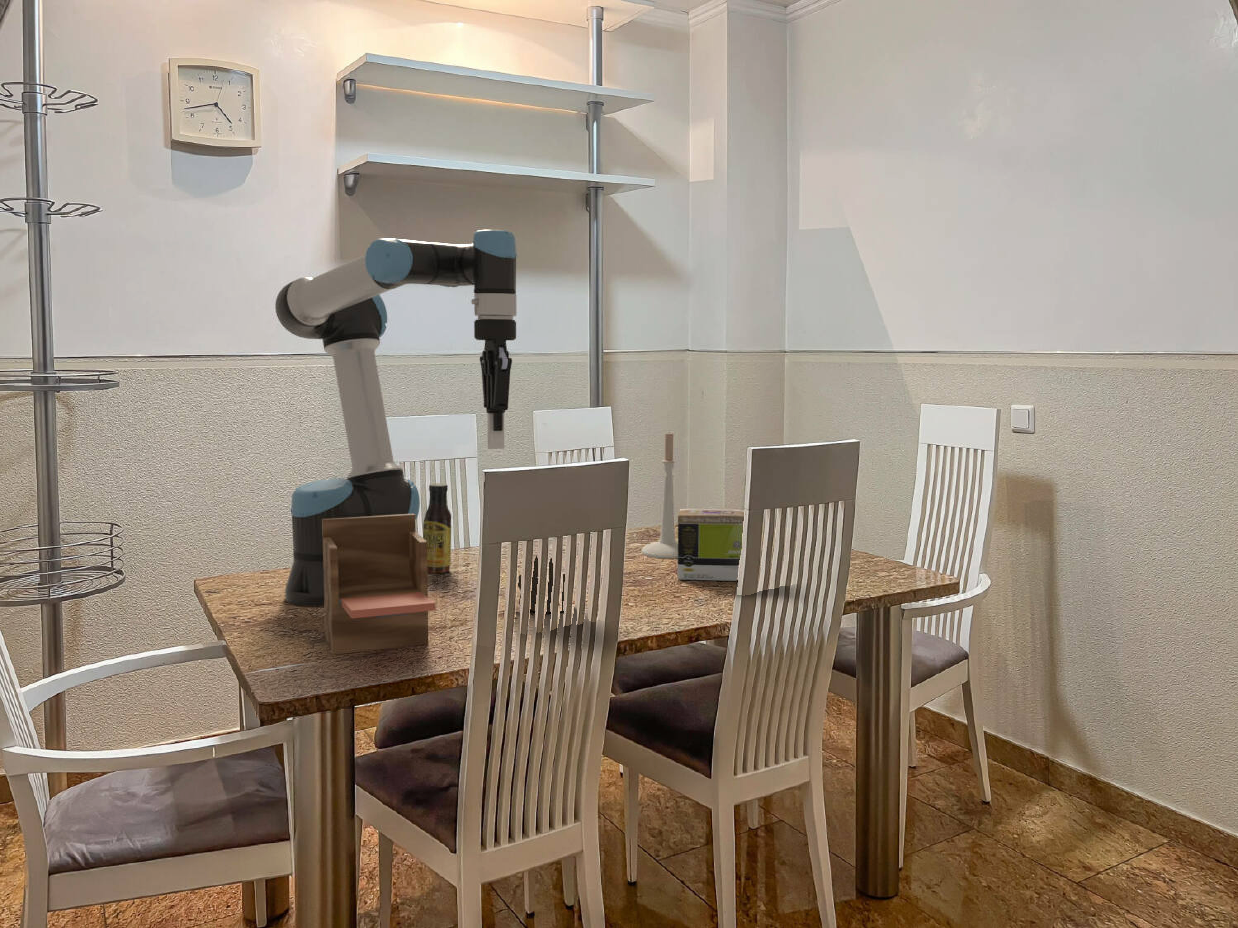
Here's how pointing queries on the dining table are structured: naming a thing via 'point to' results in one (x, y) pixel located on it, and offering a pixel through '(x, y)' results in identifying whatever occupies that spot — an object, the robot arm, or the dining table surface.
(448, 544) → the sauce bottle
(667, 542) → the candlestick
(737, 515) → the tea box
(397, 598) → the panel
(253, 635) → the dining table surface
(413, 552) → the wooden box
